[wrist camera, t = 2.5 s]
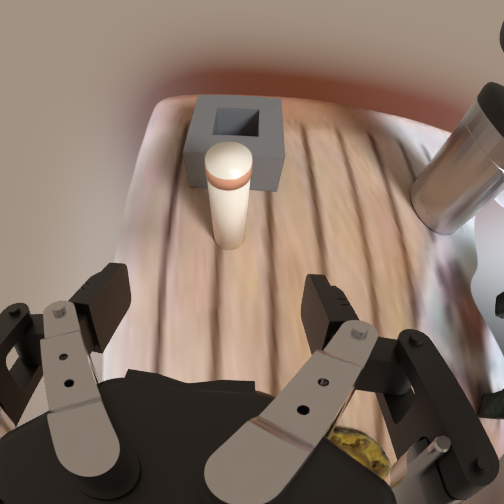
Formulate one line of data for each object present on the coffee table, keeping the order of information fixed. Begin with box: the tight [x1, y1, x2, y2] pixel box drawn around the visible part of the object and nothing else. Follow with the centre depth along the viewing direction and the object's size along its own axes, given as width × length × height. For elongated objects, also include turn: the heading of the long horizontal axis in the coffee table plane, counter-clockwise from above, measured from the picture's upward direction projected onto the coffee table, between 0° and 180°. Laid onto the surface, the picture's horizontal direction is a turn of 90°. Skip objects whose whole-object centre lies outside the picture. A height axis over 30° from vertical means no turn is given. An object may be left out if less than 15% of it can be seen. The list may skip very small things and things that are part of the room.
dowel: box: [205, 141, 253, 250], centre depth 24 cm, size 3×3×12 cm
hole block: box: [183, 95, 285, 192], centre depth 31 cm, size 10×10×6 cm
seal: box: [328, 429, 392, 480], centre depth 19 cm, size 9×5×15 cm
